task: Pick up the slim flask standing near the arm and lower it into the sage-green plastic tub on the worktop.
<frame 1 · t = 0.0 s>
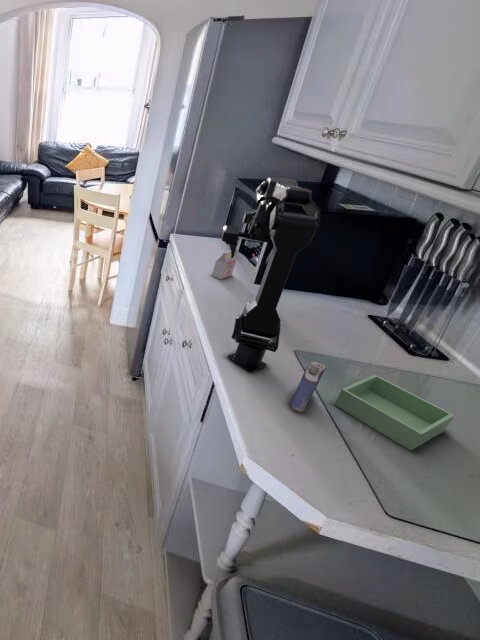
hand: (249, 260, 124), 15 cm above the countertop, tool pointing down, fingers open, 9 cm apart
bin: (386, 417, 86), on the countertop
milk carton: (221, 275, 149), on the countertop
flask: (299, 402, 90), on the countertop
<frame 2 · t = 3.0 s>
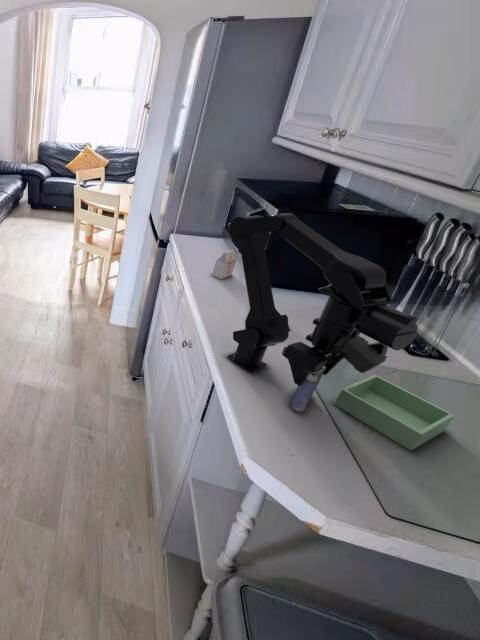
hand: (310, 379, 87), 7 cm above the countertop, tool pointing down, fingers open, 9 cm apart
nothing on the countertop moved.
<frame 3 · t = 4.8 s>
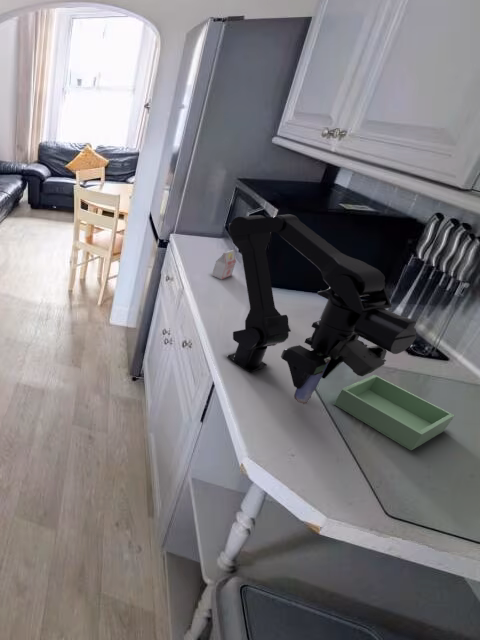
hand: (309, 382, 87), 6 cm above the countertop, tool pointing down, fingers closed on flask, 9 cm apart
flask: (303, 393, 89), point 2 cm above the countertop, touching gripper
everything else where it was.
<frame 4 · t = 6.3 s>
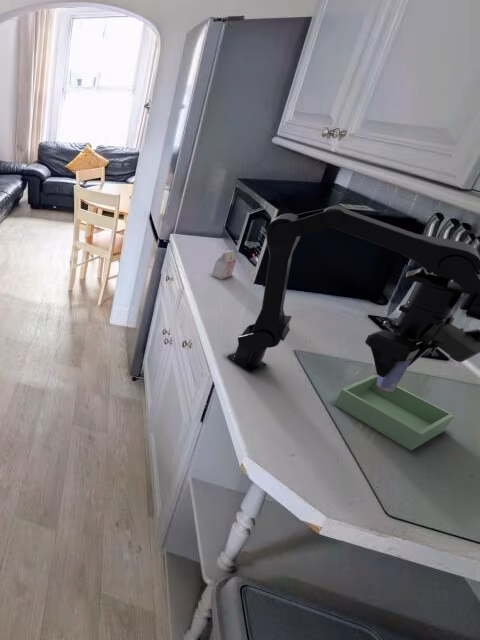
hand: (392, 370, 82), 12 cm above the countertop, tool pointing down, fingers closed on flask, 9 cm apart
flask: (385, 383, 83), point 9 cm above the countertop, touching gripper
everything else where it was.
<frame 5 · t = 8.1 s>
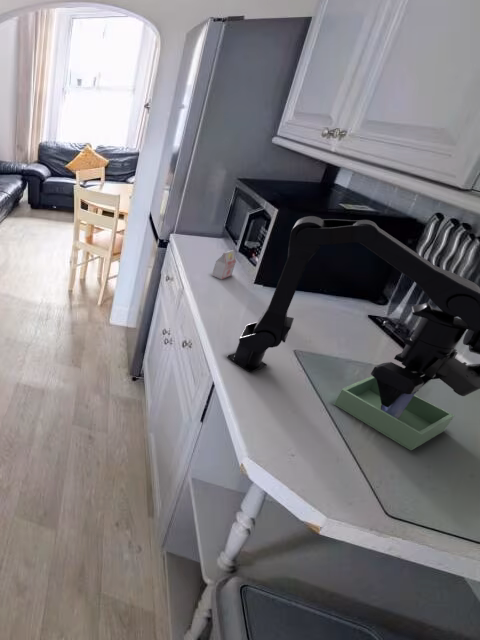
hand: (396, 399, 84), 5 cm above the countertop, tool pointing down, fingers closed on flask, 9 cm apart
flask: (389, 411, 85), point 2 cm above the countertop, touching gripper
everything else where it was.
when the fingers open (4 cm above the countertop, at t = 9.2 s): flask stays where it is, resting on bin.
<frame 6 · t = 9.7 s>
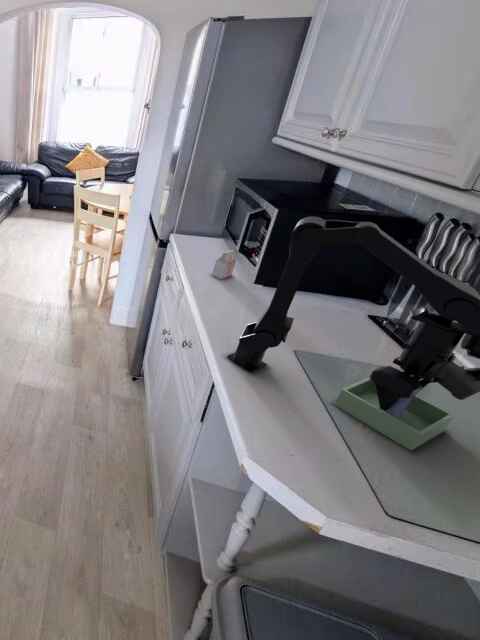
hand: (395, 403, 84), 4 cm above the countertop, tool pointing down, fingers open, 9 cm apart
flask: (386, 416, 86), resting on bin, touching gripper
everything else where it was.
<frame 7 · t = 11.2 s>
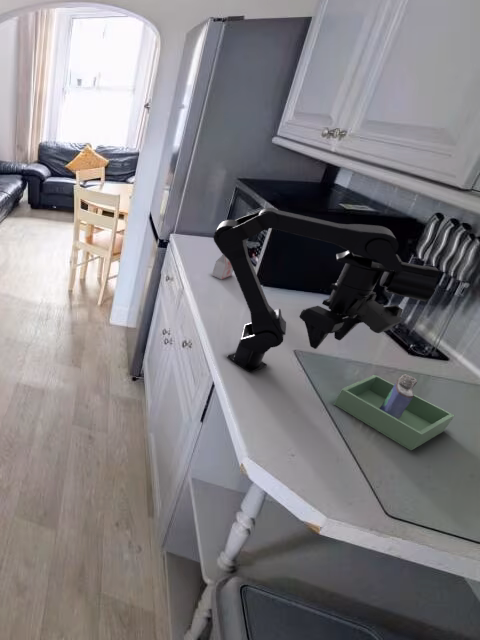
hand: (325, 343, 91), 12 cm above the countertop, tool pointing down, fingers open, 9 cm apart
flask: (386, 416, 86), resting on bin
everything else where it was.
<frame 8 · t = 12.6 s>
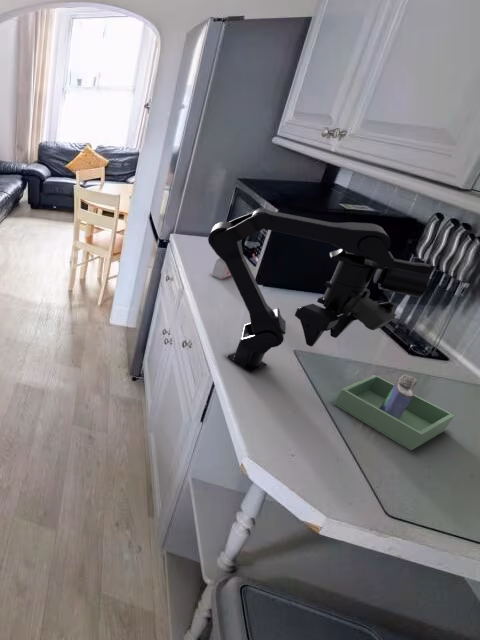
hand: (321, 341, 91), 12 cm above the countertop, tool pointing down, fingers open, 9 cm apart
nothing on the countertop moved.
at the end: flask inside the target area in the bin (0.2 cm from its centre), point 0.3 cm above the bin's base; the gripper is holding nothing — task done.
